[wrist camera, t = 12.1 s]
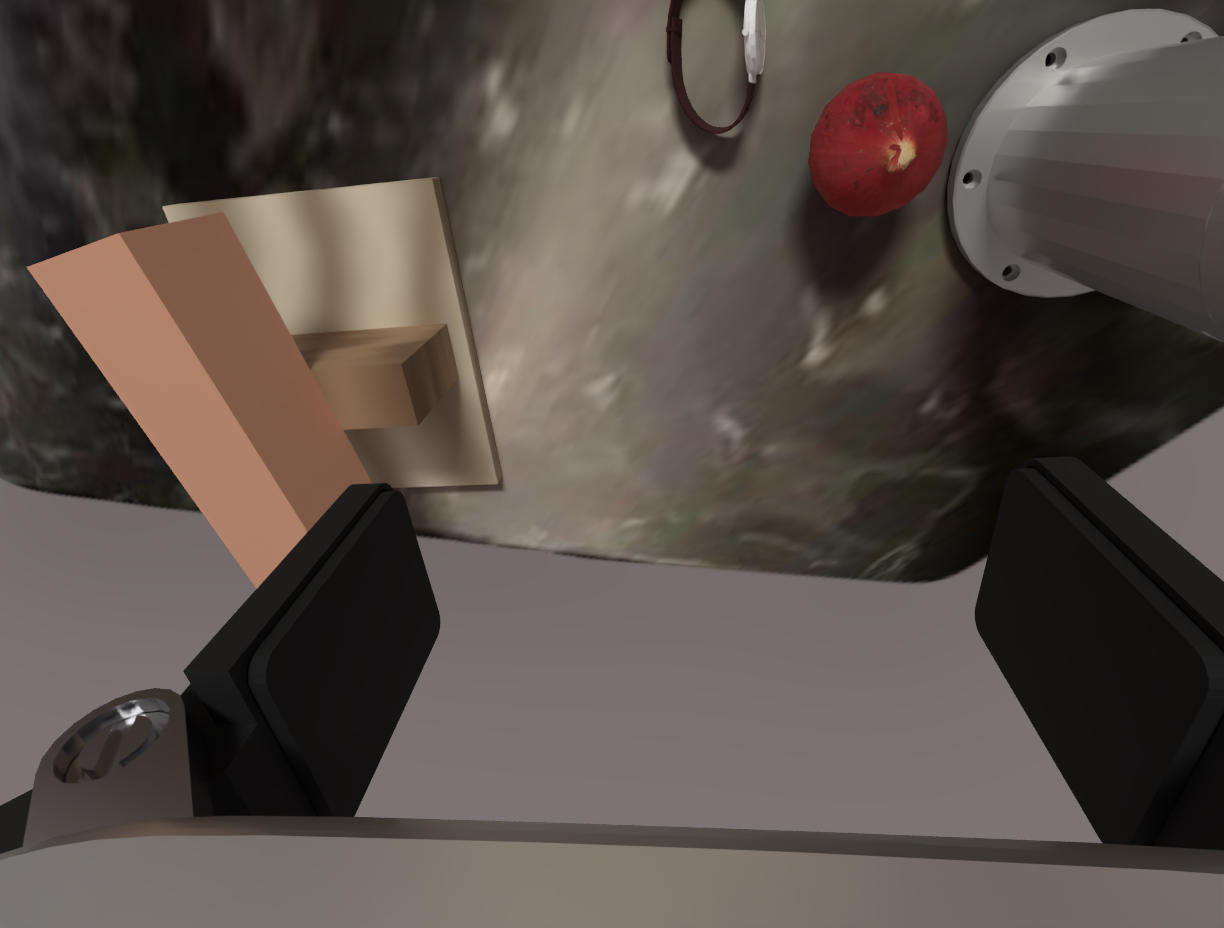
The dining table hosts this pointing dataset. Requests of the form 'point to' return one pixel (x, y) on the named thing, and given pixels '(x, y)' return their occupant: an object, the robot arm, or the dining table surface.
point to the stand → (376, 321)
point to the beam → (209, 379)
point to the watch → (753, 57)
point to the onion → (877, 144)
